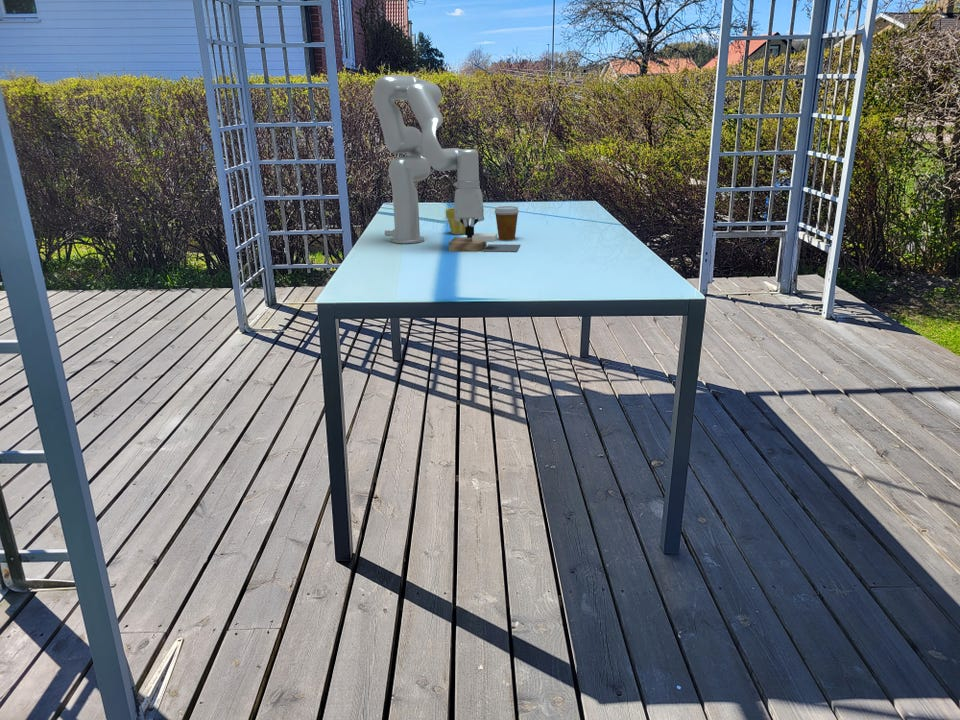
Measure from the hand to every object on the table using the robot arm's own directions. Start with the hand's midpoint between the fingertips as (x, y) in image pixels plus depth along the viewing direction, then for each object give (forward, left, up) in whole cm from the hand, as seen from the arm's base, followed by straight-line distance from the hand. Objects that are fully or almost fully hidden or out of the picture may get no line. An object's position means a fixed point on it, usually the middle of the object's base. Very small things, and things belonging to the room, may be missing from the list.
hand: (469, 237), depth 257 cm
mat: (+12, 0, -4) cm, 12 cm away
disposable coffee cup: (+11, +20, -4) cm, 23 cm away
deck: (-1, 0, -4) cm, 4 cm away
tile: (+5, 0, -1) cm, 6 cm away
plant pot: (-10, +33, -4) cm, 35 cm away
